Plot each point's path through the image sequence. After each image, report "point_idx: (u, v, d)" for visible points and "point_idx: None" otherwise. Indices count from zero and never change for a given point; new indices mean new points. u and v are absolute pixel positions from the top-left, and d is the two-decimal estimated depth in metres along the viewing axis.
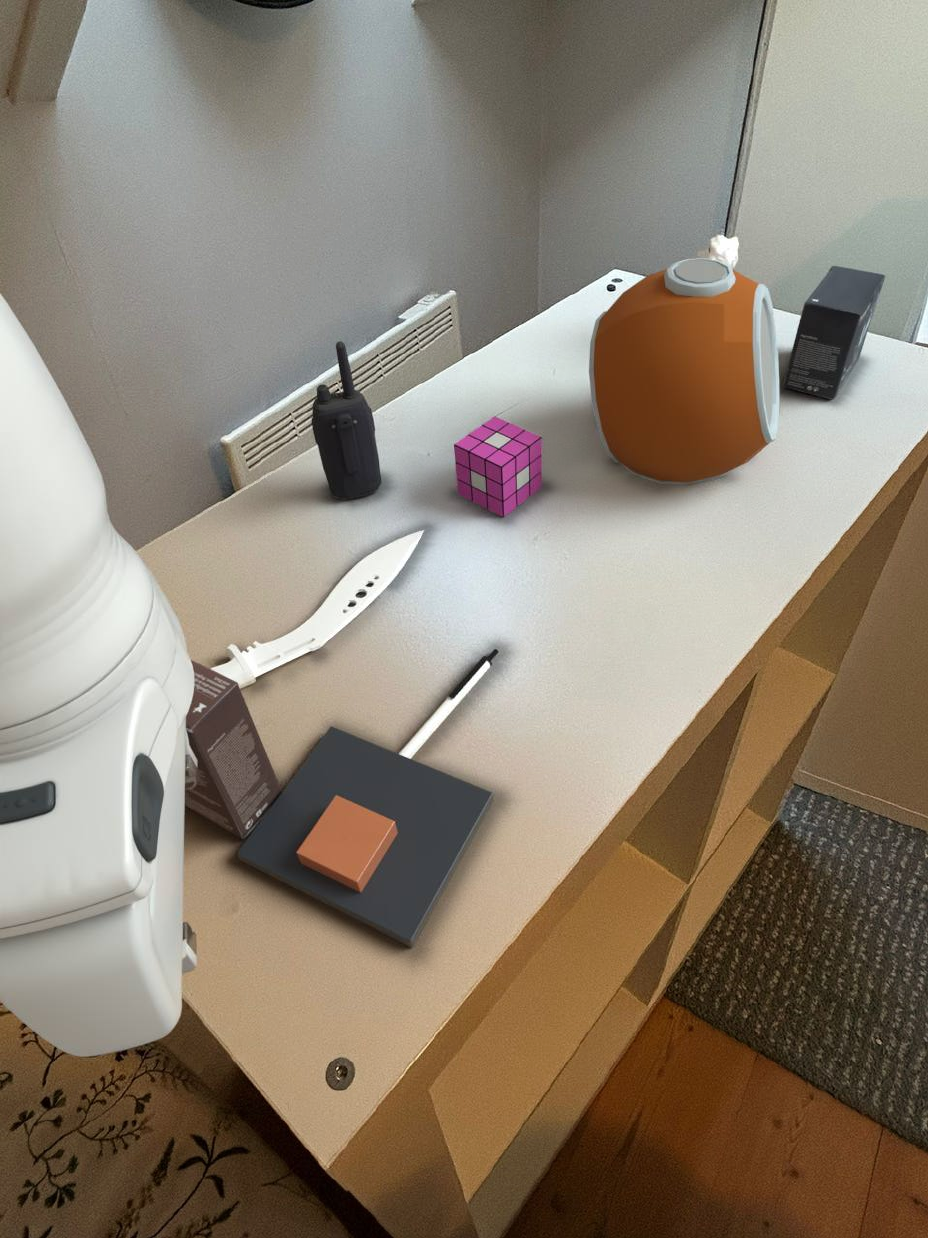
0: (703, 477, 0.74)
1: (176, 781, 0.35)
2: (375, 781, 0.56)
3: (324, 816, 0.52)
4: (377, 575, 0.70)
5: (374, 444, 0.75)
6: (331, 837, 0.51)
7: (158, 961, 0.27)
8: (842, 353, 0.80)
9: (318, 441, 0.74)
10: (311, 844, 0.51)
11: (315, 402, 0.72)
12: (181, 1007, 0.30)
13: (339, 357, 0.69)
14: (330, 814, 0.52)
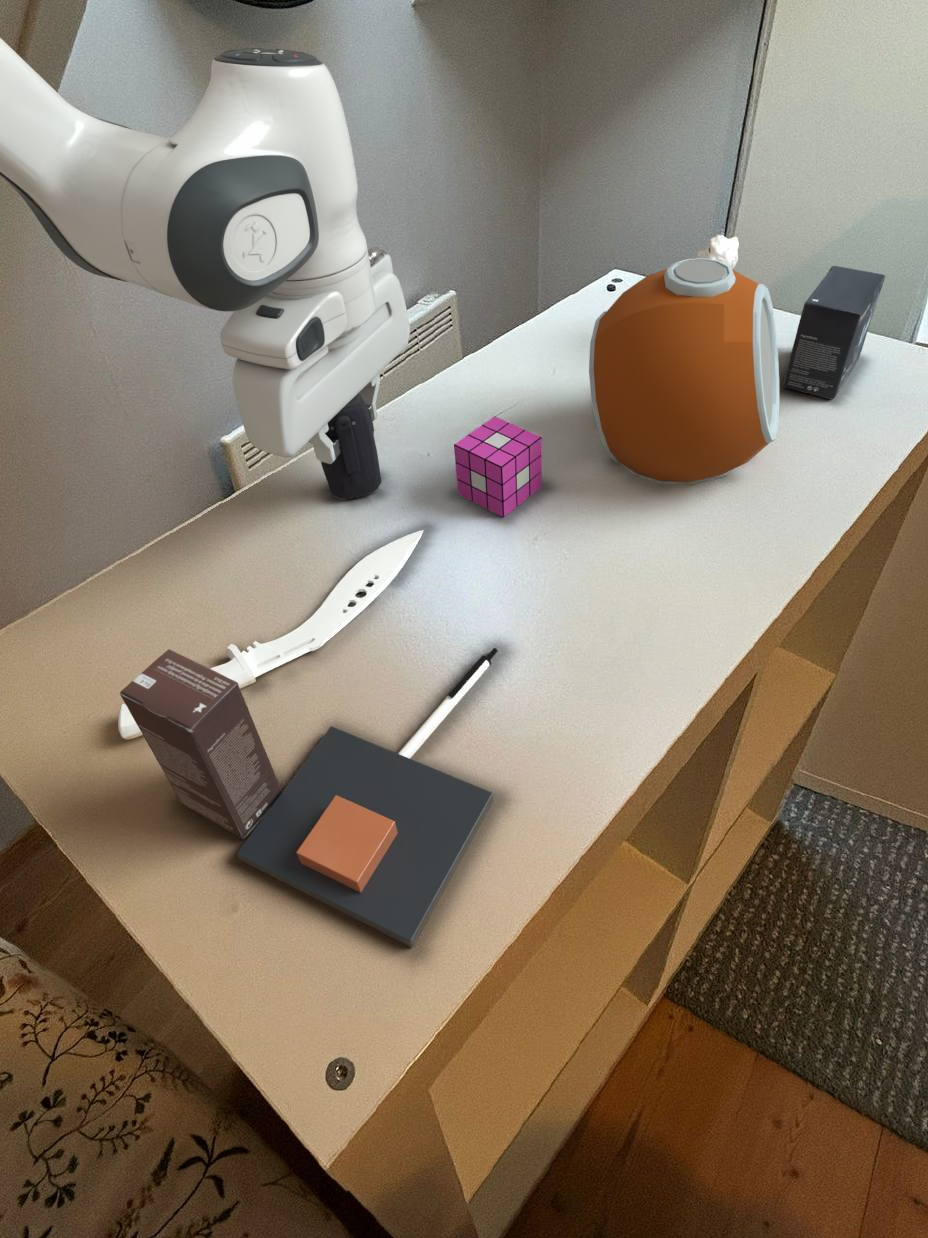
0: (703, 477, 0.74)
1: (353, 380, 0.69)
2: (375, 781, 0.56)
3: (324, 816, 0.52)
4: (377, 575, 0.70)
5: (373, 444, 0.75)
6: (331, 837, 0.51)
7: (288, 409, 0.62)
8: (842, 353, 0.80)
9: None
10: (311, 844, 0.51)
11: None
12: (294, 452, 0.65)
13: None
14: (330, 814, 0.52)
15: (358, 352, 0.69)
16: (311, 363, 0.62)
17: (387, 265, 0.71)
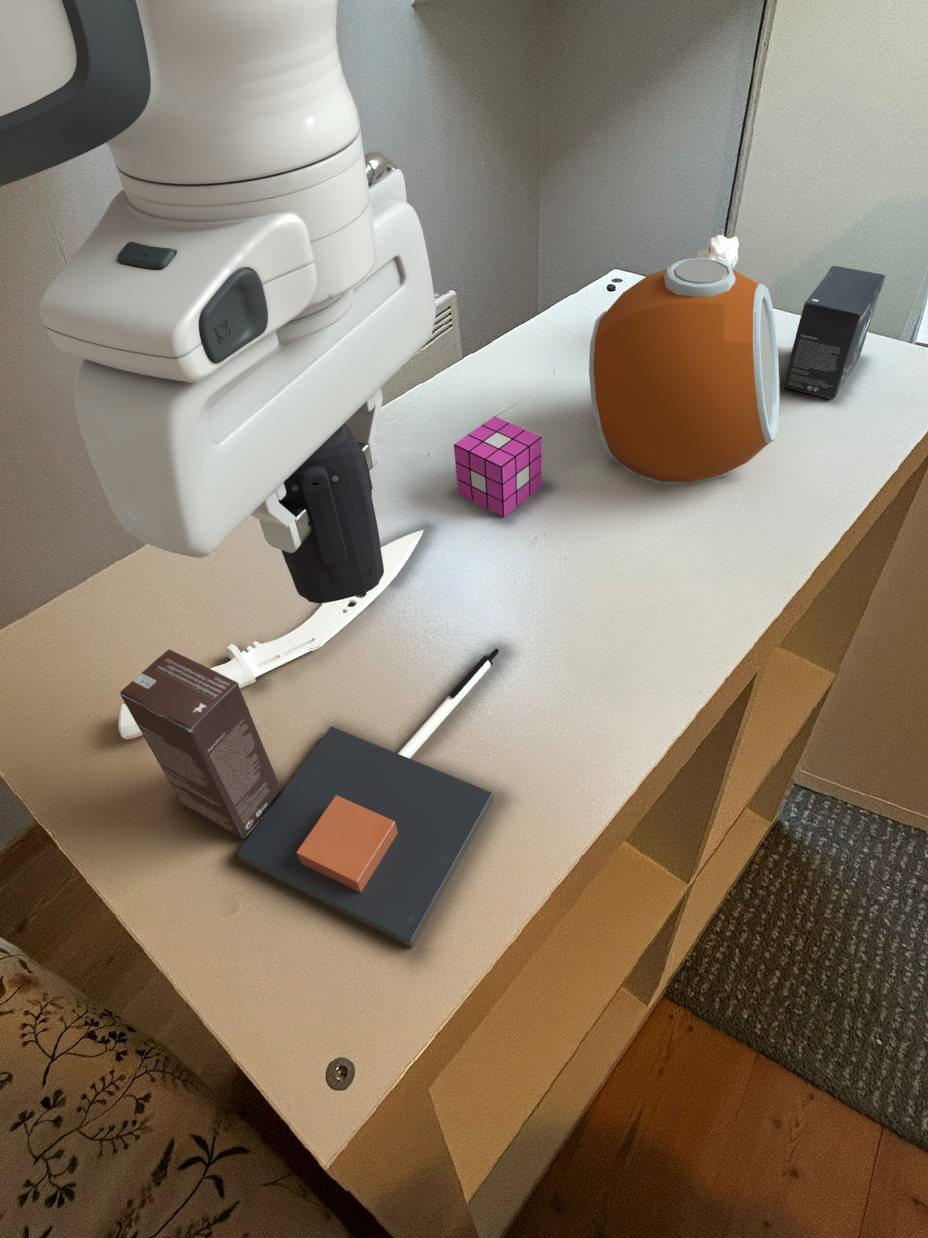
0: (703, 477, 0.74)
1: (332, 402, 0.37)
2: (375, 781, 0.56)
3: (324, 816, 0.52)
4: None
5: (371, 513, 0.42)
6: (331, 837, 0.51)
7: (191, 465, 0.29)
8: (842, 353, 0.80)
9: None
10: (311, 844, 0.51)
11: None
12: (212, 547, 0.32)
13: None
14: (330, 814, 0.52)
15: (343, 348, 0.36)
16: (241, 369, 0.29)
17: (397, 190, 0.39)
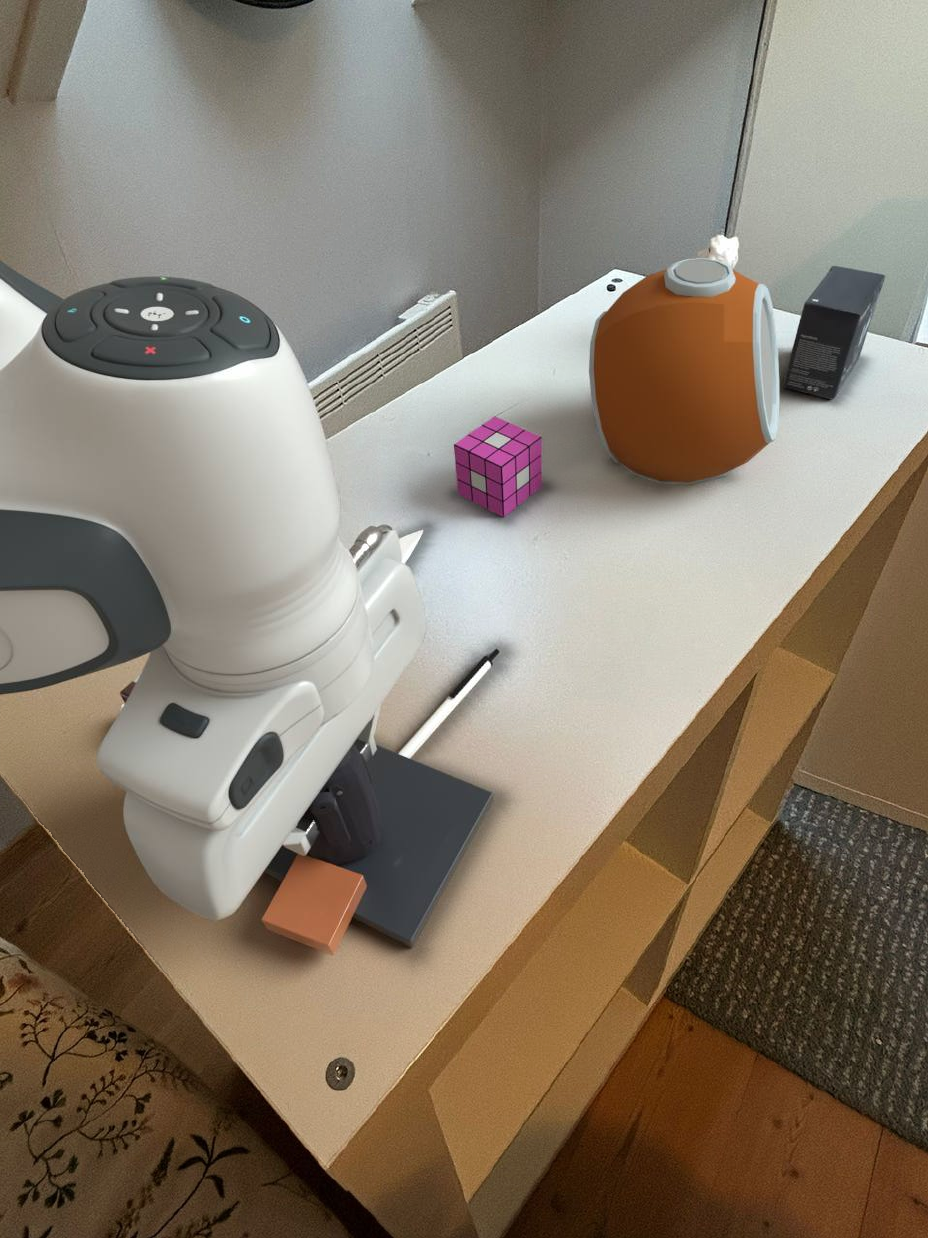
0: (703, 477, 0.74)
1: (337, 746, 0.43)
2: (375, 781, 0.56)
3: (288, 877, 0.50)
4: None
5: (371, 803, 0.48)
6: (297, 899, 0.49)
7: (221, 873, 0.35)
8: (842, 353, 0.80)
9: None
10: (276, 909, 0.48)
11: None
12: (236, 908, 0.38)
13: None
14: (294, 874, 0.50)
15: None
16: (261, 791, 0.35)
17: (392, 546, 0.45)
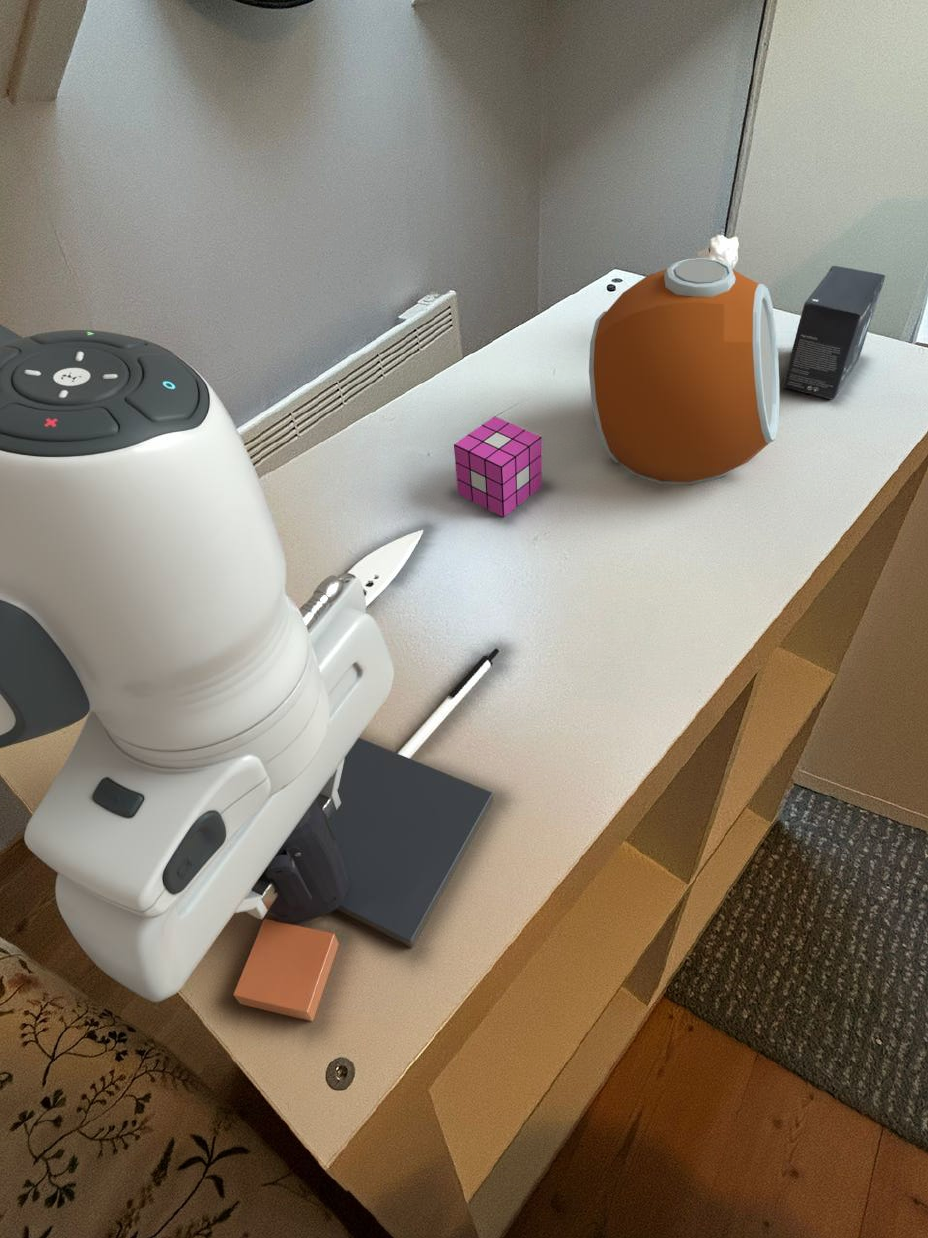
0: (703, 477, 0.74)
1: (294, 808, 0.40)
2: (375, 781, 0.56)
3: (256, 946, 0.48)
4: (377, 575, 0.70)
5: (333, 861, 0.46)
6: (268, 968, 0.47)
7: (159, 957, 0.33)
8: (842, 353, 0.80)
9: None
10: (248, 981, 0.47)
11: None
12: (180, 987, 0.36)
13: None
14: (262, 942, 0.48)
15: None
16: (203, 869, 0.33)
17: (355, 595, 0.42)
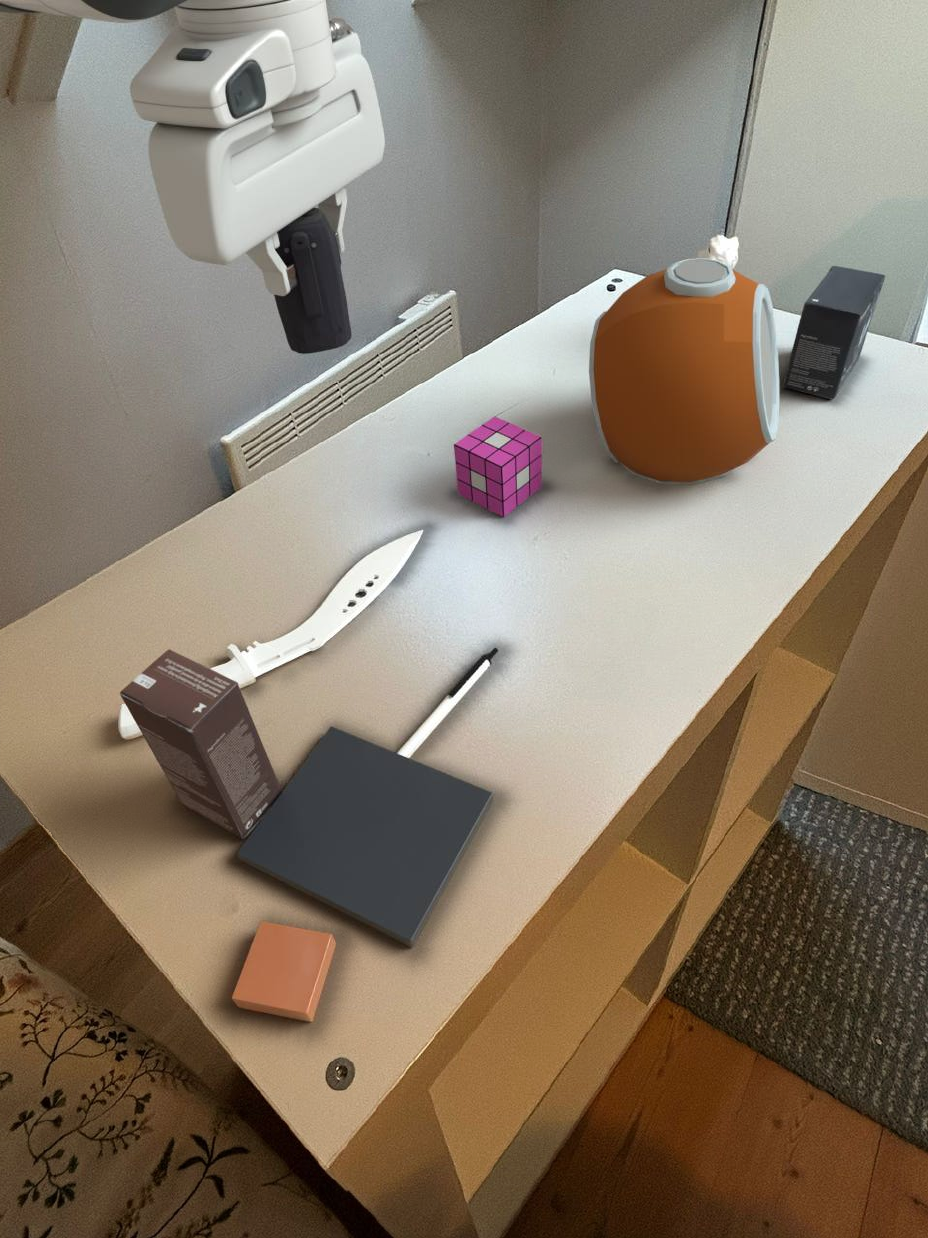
0: (703, 477, 0.74)
1: (310, 183, 0.55)
2: (375, 781, 0.56)
3: (254, 949, 0.48)
4: (377, 575, 0.70)
5: (340, 281, 0.61)
6: (266, 970, 0.47)
7: (219, 188, 0.48)
8: (842, 353, 0.80)
9: None
10: (246, 984, 0.46)
11: None
12: (231, 257, 0.51)
13: None
14: (259, 944, 0.48)
15: (317, 146, 0.55)
16: (249, 130, 0.48)
17: (355, 47, 0.57)
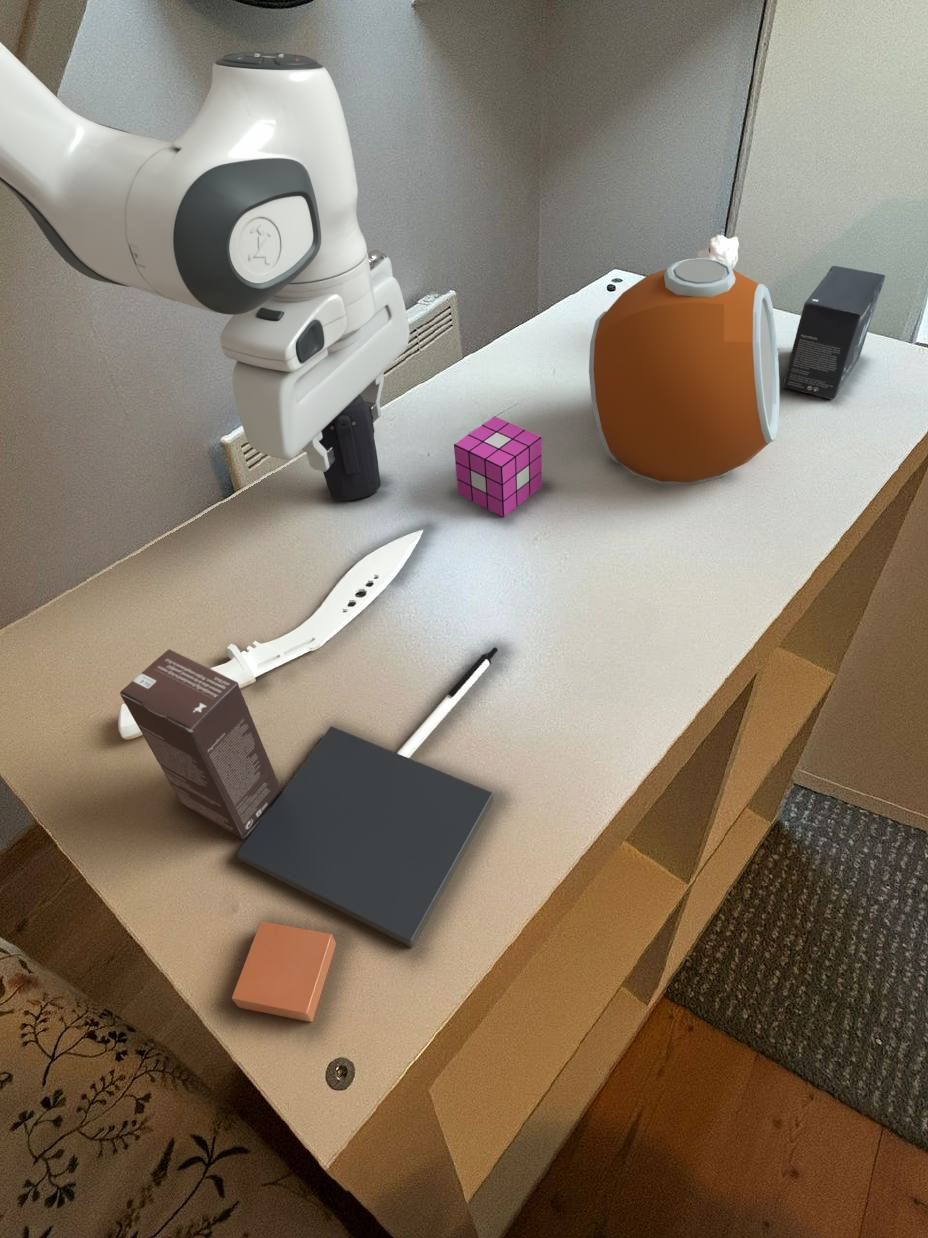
0: (703, 477, 0.74)
1: (352, 383, 0.69)
2: (375, 781, 0.56)
3: (254, 949, 0.48)
4: (377, 575, 0.70)
5: (373, 446, 0.75)
6: (266, 970, 0.47)
7: (288, 411, 0.62)
8: (842, 353, 0.80)
9: None
10: (246, 984, 0.46)
11: None
12: (294, 454, 0.65)
13: None
14: (259, 944, 0.48)
15: (358, 355, 0.69)
16: (311, 366, 0.62)
17: (387, 268, 0.71)
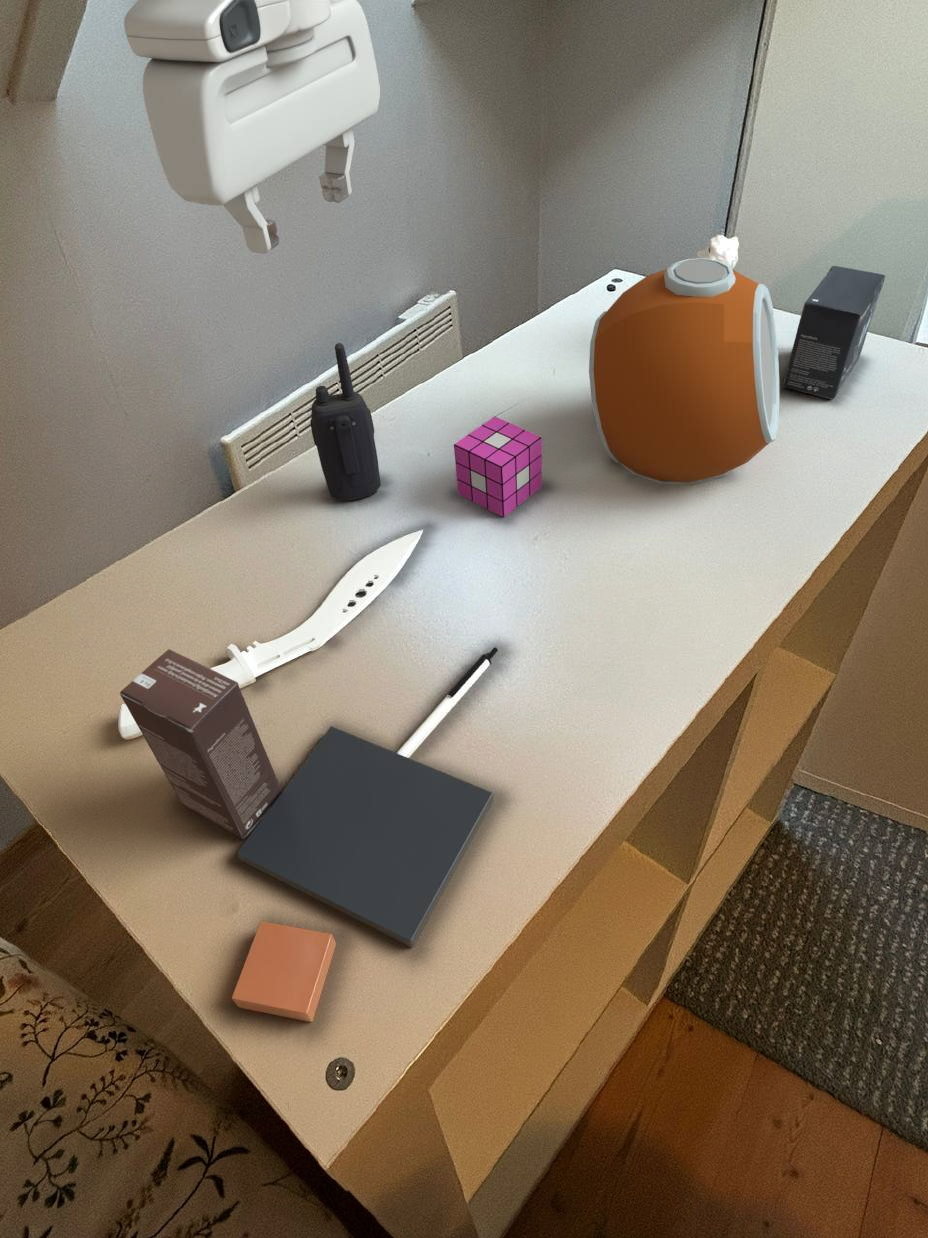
0: (703, 477, 0.74)
1: (305, 128, 0.55)
2: (375, 781, 0.56)
3: (254, 949, 0.48)
4: (377, 575, 0.70)
5: (373, 446, 0.75)
6: (266, 970, 0.47)
7: (214, 124, 0.48)
8: (842, 353, 0.80)
9: (317, 442, 0.74)
10: (246, 984, 0.46)
11: (314, 403, 0.72)
12: (226, 197, 0.51)
13: (338, 359, 0.69)
14: (259, 944, 0.48)
15: (311, 90, 0.55)
16: (244, 67, 0.48)
17: None
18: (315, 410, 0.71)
